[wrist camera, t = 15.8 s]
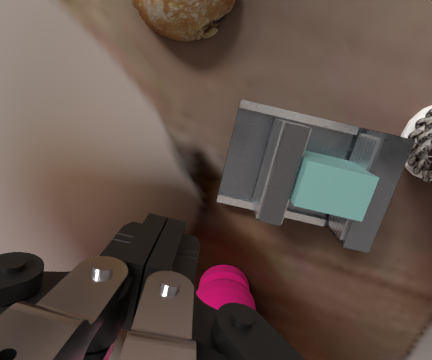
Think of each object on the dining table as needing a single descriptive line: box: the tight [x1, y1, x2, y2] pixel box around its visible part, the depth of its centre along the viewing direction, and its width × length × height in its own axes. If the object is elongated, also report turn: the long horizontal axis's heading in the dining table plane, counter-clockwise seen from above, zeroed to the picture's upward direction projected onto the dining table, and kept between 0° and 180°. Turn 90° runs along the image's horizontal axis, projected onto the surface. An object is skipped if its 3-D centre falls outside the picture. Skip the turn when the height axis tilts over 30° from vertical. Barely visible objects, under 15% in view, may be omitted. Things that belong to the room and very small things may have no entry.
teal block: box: [290, 150, 379, 222], centre depth 28 cm, size 6×4×7 cm, turn 77°
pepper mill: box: [196, 265, 256, 310], centre depth 27 cm, size 7×7×20 cm
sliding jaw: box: [252, 118, 312, 226], centre depth 28 cm, size 2×9×6 cm, turn 167°
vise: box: [217, 99, 415, 253], centre depth 29 cm, size 15×11×6 cm
